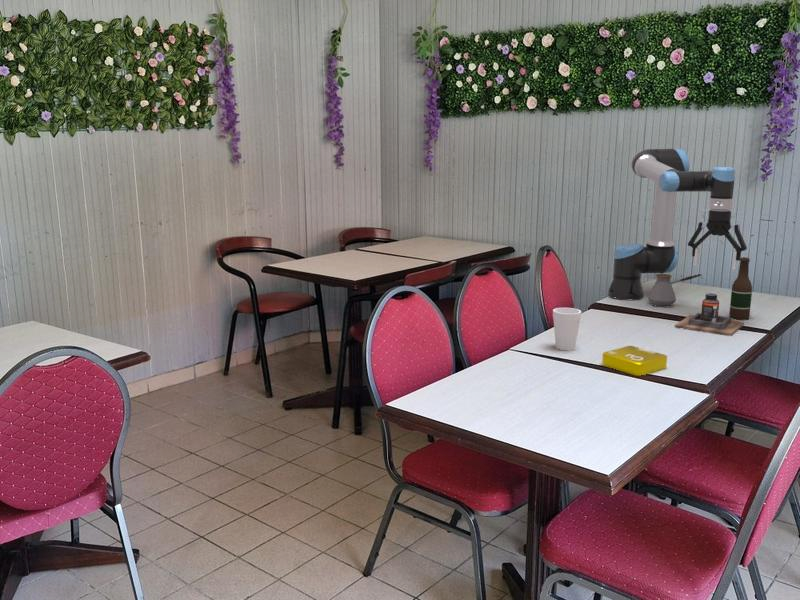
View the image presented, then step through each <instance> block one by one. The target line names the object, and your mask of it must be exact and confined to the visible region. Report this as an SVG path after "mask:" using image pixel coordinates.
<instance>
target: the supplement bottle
mask: <svg viewBox="0 0 800 600" xmlns="http://www.w3.org/2000/svg"><path fill="white" fill-rule="evenodd" d="M719 308H720V301H719V300H718V294H716V293H712V292H711V293H705V297H704V298H703V300H702V302H701V320H702V321H709V322H716V323H717V322H718V316H719Z"/></svg>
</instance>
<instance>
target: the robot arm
mask: <svg viewBox="0 0 800 600" xmlns="http://www.w3.org/2000/svg"><path fill="white" fill-rule="evenodd" d="M631 168H632V171H633V174H635V175H636V176H637V177H639V178H643V179H646V178H647V179H650V180H652V181H653V182H654V183H655V184H656V185H655V186H656V188H655V196H654V203H653V204H654V206H653V214H652V223H651V230H650V231H651V233H650V238H649V239H648V240H647V241H646V246H643V243H639V242H638V243H637V242H636V243H633V242H632V243H631V242H630V243H624V244H620V245H617V246H616V248H614V256H613V258H614V260H613V275H612V276H613V278H612V280H611V283H610V284H609V285H610V286H609V288H608V291H607V296H608V297H609V298H611V297H613V298H612V299H615V298H614V297H616V298H619V299H618V300H622V299H638V300H642V299H643V298H644V295H645V294H644V288H643V285H642V281H641V279H642V278H641V277H642V274H668V273H671V272H673V271H674V270H675V268H677V265H678V262H679V250H678V248H677V247H676V246H675V242H674V241H672V236H673V228H674V227H673V226H674V220H675V210H676V204H677V202H676V201H677V193H679V192H709V193H710V196H709V198H710V199H709V207H708V208H709V209H710V210H709V211H708V219H707V222H704V221H700V222H698V224H697V229H696V230H695V231H694V233H693V235H692V237H691V238H690V240H689V241H688V243H687V246H688V247H691V248H692V251H691V254H692V255H691V256H692V257H694V260H693V261H694V262H693V266H694V267H695V266H698V265H699V258H700V247H699V246H700V245H701V244H702V243H703V242H704V241H705V240H706V239H707V238H708V237H710V235H712V236H719V237H722V236H724V237H725V238H726V239H727V240H728V242H729V243H730V244H731V246H732V247H733V248H734V252H733V261H732V268H731V269H732V270H733V271H735V270H736V269H737V268H738V261H740V258H742V257H741V256H742V255H741V254H742V252H743V251H744V252H745V251H746V250H748V247H747V244H746V242H745V240H744V238H743V235H742V232H741V230H740V224H739V223H737V224H732V223H731V220H732V219H731V218H732V211H731V210H732V209H733V208H732V207H733V197H734V195H733V194H734V189H735V188H734V187H735V180H736V176H735V175H736V170H735V168H734V167H731V166H714V168H713V169H712V170H700V171H699V170H698V171H697V170H696V171H692V170H690V159H689V156H688V154H687V152H686V151H685V150H684V149H681V148H647V149H643V150H641V151H639V152H638V153H636V154H635V156H634V157H632V161H631ZM705 227H706V229H707V231H706V232H705V233H704V235H702V236H701V237H700V238H699V239H698V240H697V238H698V237H699V235H700V234H701V232H702V231H703V229H705ZM730 229H732V231H734V234H735V236H736V239H737V241H738V243H737V241H736V240H735V239H734V237H733V236H732V234H731V233H730ZM696 240H697V241H696ZM695 241H696V242H695Z"/></svg>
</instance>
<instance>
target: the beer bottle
mask: <svg viewBox="0 0 800 600" xmlns="http://www.w3.org/2000/svg"><path fill="white" fill-rule="evenodd" d="M739 261H740V263H739V269H738V274H737V277H736V279H734V281H733V283H732V286H731V292H730V293H731V295H730V303H729V316H728V317H731V318H732V320H735V319H736V320H735V321H747V320H749V319H750V313H751V303H752V293H753V285H752V282H751V280H750V279H749V271H750V270H749V268H750V267H749V264H750V262H751V261H750V257H741V258H740V260H739Z"/></svg>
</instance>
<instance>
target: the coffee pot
mask: <svg viewBox="0 0 800 600" xmlns="http://www.w3.org/2000/svg"><path fill="white" fill-rule="evenodd" d="M655 277H656V281H655V282H654V285H653V286H652V289H651V290H650V292H649V294H648V296H647V300H648V302H649V303H651V305H652V304H653V305H652V306H654V305H656V306H655V307H658V306H669V307H671V306H672V305H674V304H675V302H676V301H677V297H676V294H675V291H674V289H673V286H672V285H673V284H676V283H679V282H685V281H688V280H692V279H695V278H698V277H700V279H701V280H702V279H704V277H703V276H702V273H699V274H694V275H689V276H686V277H684V278H683V277H682V278H680V279H677V280H673V281H671V278H672V274H668V273H655Z"/></svg>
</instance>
